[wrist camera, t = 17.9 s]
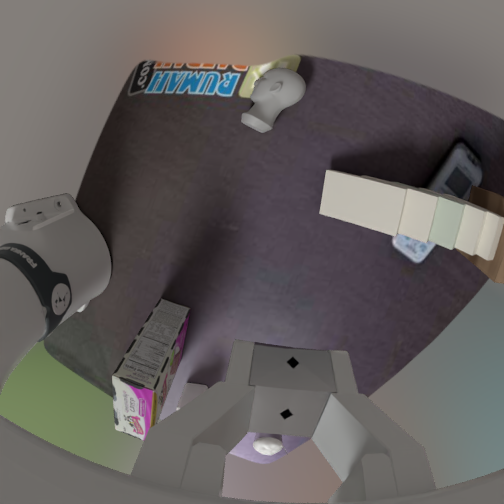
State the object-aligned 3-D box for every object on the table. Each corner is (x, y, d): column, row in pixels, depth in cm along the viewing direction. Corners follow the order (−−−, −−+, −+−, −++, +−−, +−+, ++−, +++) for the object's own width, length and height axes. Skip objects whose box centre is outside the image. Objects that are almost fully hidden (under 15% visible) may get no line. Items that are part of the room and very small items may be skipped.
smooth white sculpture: (281, 67, 31) (315, 92, 30) (235, 115, 33) (266, 143, 33) (272, 51, 27) (310, 78, 26) (220, 105, 29) (255, 135, 29)
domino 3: (383, 223, 34) (451, 249, 28) (391, 181, 32) (463, 205, 26) (388, 221, 35) (454, 247, 29) (397, 181, 33) (465, 204, 27)
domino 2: (353, 218, 34) (426, 243, 29) (361, 175, 32) (437, 197, 27) (358, 216, 35) (428, 240, 30) (366, 175, 34) (439, 196, 28)
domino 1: (319, 213, 34) (395, 236, 30) (326, 169, 32) (405, 189, 28) (324, 211, 36) (398, 233, 31) (331, 169, 34) (408, 188, 29)
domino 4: (409, 227, 34) (472, 255, 27) (418, 187, 32) (484, 211, 25) (415, 226, 35) (475, 254, 28) (424, 188, 33) (487, 211, 26)
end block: (455, 249, 36) (494, 282, 26) (471, 185, 32) (517, 204, 23) (476, 252, 35) (515, 285, 26) (492, 191, 32) (537, 211, 23)
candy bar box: (182, 362, 46) (150, 444, 31) (153, 352, 46) (113, 430, 31) (194, 306, 42) (154, 392, 27) (160, 295, 42) (108, 374, 27)
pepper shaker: (210, 399, 49) (199, 442, 40) (187, 396, 49) (174, 438, 41) (208, 383, 48) (196, 428, 39) (185, 380, 48) (169, 423, 39)
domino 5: (434, 231, 34) (486, 260, 27) (443, 193, 33) (499, 216, 25) (441, 231, 35) (493, 259, 27) (450, 194, 33) (505, 217, 25)
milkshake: (290, 414, 49) (289, 460, 40) (260, 417, 50) (255, 462, 41) (286, 398, 47) (285, 446, 38) (254, 402, 48) (249, 449, 39)
